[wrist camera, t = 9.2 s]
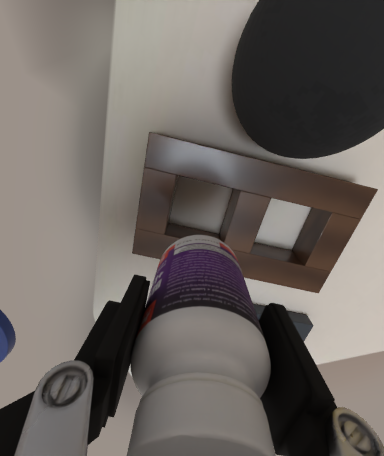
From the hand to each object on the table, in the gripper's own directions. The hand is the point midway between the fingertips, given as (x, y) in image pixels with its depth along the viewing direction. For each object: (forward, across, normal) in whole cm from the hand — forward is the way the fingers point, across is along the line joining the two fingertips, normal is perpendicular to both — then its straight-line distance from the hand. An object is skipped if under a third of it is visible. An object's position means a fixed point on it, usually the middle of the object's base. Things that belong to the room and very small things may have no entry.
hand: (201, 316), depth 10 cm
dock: (+19, -6, 0) cm, 20 cm away
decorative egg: (+19, -6, -14) cm, 25 cm away
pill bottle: (+5, 0, 0) cm, 5 cm away
